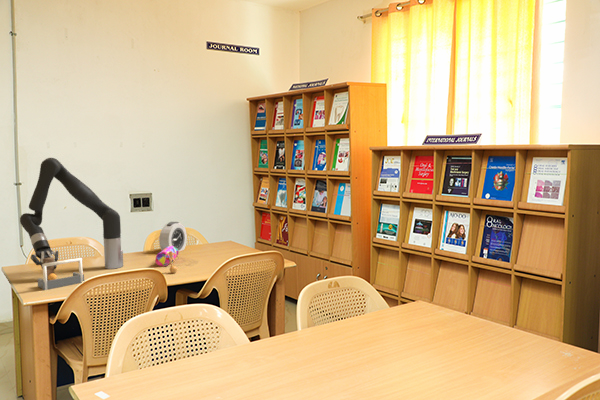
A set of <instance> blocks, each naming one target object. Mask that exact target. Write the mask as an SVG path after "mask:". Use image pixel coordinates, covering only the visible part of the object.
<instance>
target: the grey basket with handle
mask: <svg viewBox="0 0 600 400" xmlns="http://www.w3.org/2000/svg"><path fill="white" fill-rule="evenodd" d="M76 262H78V272H77V271H73V272H72V275H71V276H67V277H60V278H56V279H54V280H49V279H48V278H47V269H46V267H47V266H53V265H64V264H70V263H76ZM42 267H43V269H42V277H43V278H40V277H39V278H37V287H38V288H40V289H42V291H47V290H51V289H57V288H62V287H66V286H72V285H77V284H78V285H79V284H82V283H81V282H82V281H84V282H85V274H83V273H84V272H83V257H77V258H70V259H65V260H57V262H51V263H44V264H42ZM42 267H41V268H42Z"/></svg>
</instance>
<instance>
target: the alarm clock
mask: <svg viewBox="0 0 600 400" xmlns="http://www.w3.org/2000/svg"><path fill="white" fill-rule="evenodd" d="M187 241H188V235H187V229H186V227H185V226H184V225H183V224H182V223H179V222H178V221H170V222H168V223H165V224H164V225H163V226H162V228H161V230H160V233H159V239H158V242H159V247H160V250H161V251H163V250H164V249H165V248H166V247H168V246H173V247H175V248H177V249H178V251H179V252H181V251H184V250H185V248H186V246H187Z"/></svg>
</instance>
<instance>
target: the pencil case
mask: <svg viewBox="0 0 600 400" xmlns="http://www.w3.org/2000/svg"><path fill="white" fill-rule="evenodd" d="M170 251H172V252H173V253H175V254H176V255H177V256H178V255H179V252H180V251H178V249H177V248H175V247H173V246H168V247H166V248H165V249H164V250H163V251H162V250H161V251H160V252H158V253H156V256H155V264H156V265H157V266H158V267H167V266H168V265H170V260H169V258H170V256H169V255H167V256H166V261H165V255H166V254H168V253H169V252H170ZM175 254H173V256H172V257H174V260H175V259H176V258H178V257H179V256H178V257H177V256H176V255H175ZM172 262H174V261H173V260H172Z"/></svg>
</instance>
